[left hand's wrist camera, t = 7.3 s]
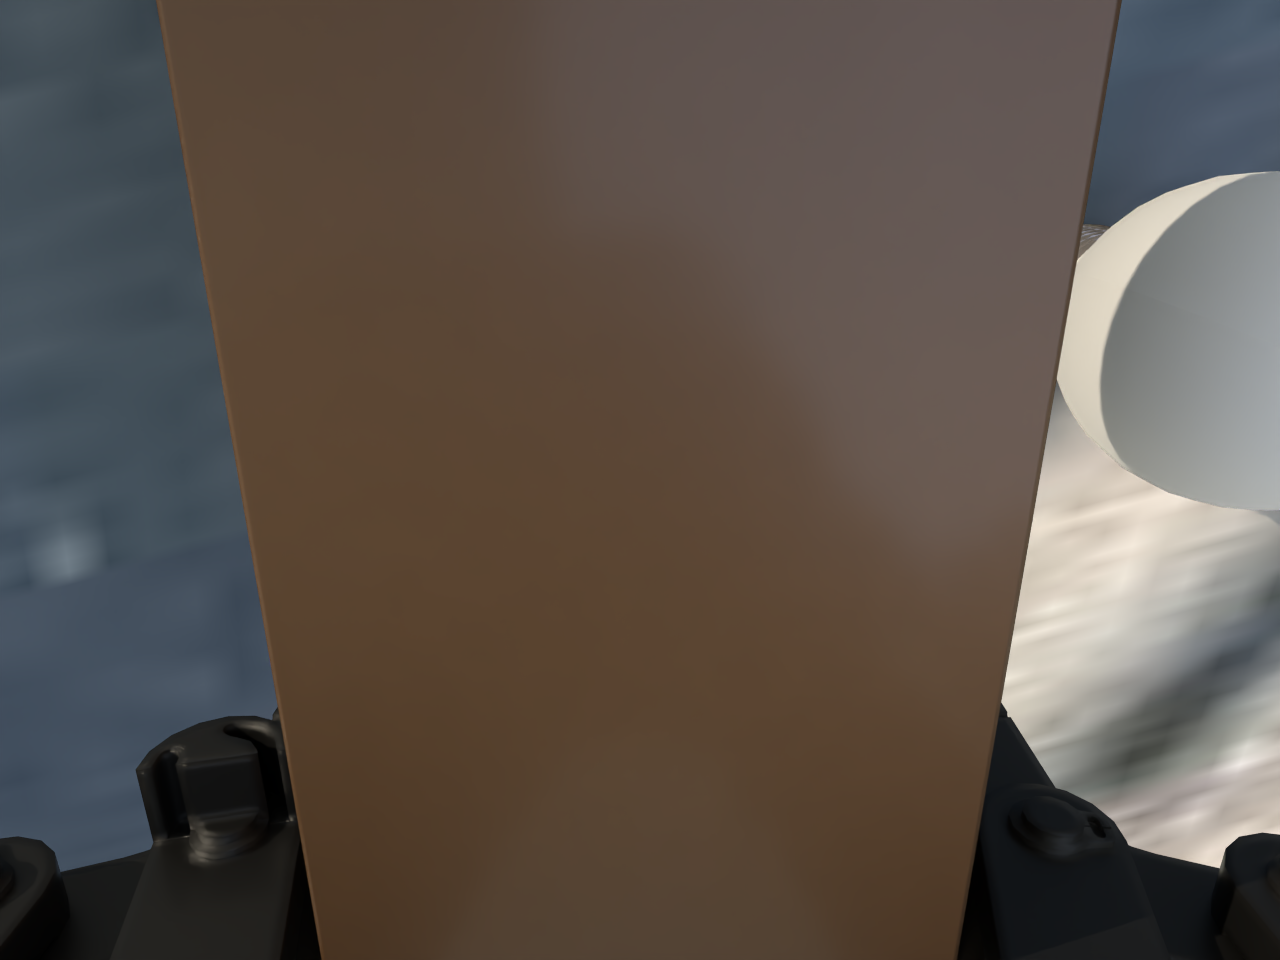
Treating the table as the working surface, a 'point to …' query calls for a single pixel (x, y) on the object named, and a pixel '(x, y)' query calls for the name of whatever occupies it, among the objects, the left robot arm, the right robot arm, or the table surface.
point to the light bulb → (1184, 341)
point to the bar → (639, 446)
